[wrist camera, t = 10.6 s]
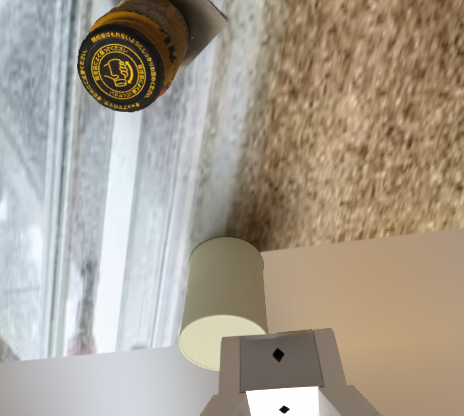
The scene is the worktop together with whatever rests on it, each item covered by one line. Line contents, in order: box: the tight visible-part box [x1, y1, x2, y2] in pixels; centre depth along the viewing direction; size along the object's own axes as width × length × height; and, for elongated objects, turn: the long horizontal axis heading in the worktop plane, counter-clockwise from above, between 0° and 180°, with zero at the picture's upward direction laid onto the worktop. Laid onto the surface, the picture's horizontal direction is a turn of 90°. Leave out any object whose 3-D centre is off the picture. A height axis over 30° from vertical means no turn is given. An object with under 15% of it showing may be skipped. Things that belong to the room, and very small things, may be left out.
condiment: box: [77, 0, 228, 112], centre depth 28 cm, size 7×8×12 cm
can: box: [178, 237, 268, 371], centre depth 44 cm, size 9×9×12 cm
